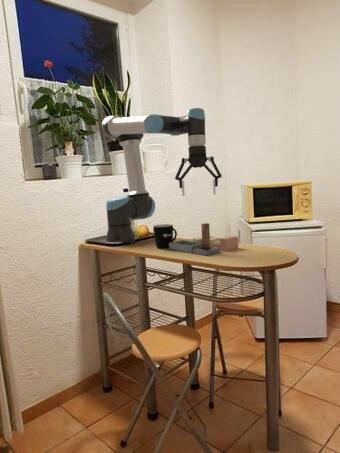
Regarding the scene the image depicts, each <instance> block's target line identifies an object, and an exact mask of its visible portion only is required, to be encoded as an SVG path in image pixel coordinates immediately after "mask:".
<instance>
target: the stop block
mask: <svg viewBox="0 0 340 453" xmlns="http://www.w3.org/2000/svg"><path fill="white" fill-rule="evenodd" d="M220 238H221V239H220V245H221V246H220V252H221V251H222V252H229V251H233V250H237V249H239V236H238V235H237V236H235V235H231V236H227V237H220Z"/></svg>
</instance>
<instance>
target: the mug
mask: <svg viewBox="0 0 340 453" xmlns="http://www.w3.org/2000/svg"><path fill="white" fill-rule="evenodd" d="M152 227H153V228H152V229H153V230H152V231H153V237H154V243H155V246H156V248H157V249H160V250H161V249H162V250H163V249H169V243H171V242H175V241H176V239H177V237H178V232H177V230H176V228H174V225H173V224H170V223H169V224H168V223H166V224H155V225H153V226H152Z"/></svg>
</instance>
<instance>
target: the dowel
mask: <svg viewBox="0 0 340 453" xmlns="http://www.w3.org/2000/svg"><path fill="white" fill-rule="evenodd" d="M200 226H201V237H202V249H205V250H207V249H210V237H211V233H210V231H211V230H210V223H200Z"/></svg>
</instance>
